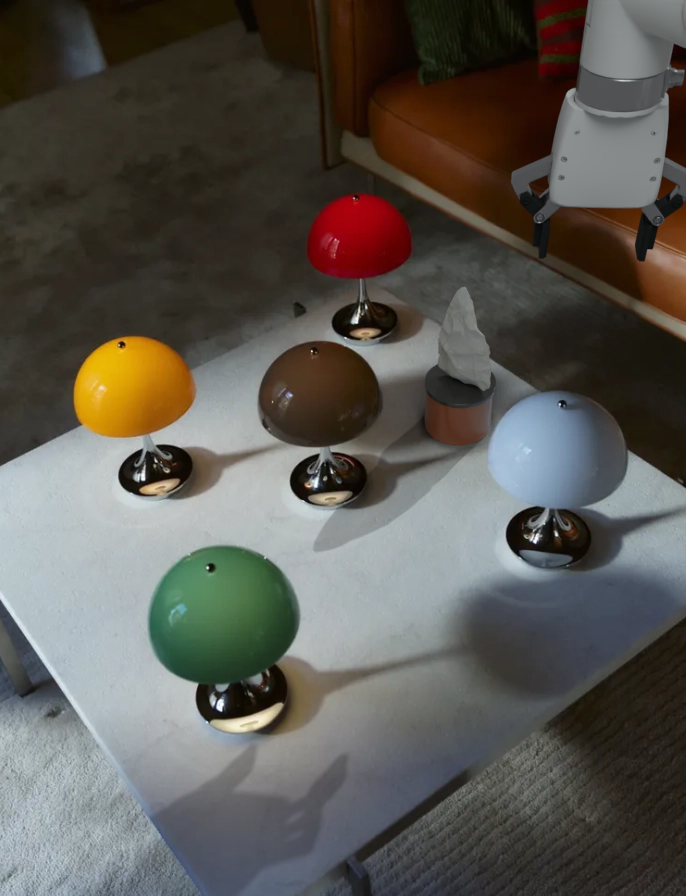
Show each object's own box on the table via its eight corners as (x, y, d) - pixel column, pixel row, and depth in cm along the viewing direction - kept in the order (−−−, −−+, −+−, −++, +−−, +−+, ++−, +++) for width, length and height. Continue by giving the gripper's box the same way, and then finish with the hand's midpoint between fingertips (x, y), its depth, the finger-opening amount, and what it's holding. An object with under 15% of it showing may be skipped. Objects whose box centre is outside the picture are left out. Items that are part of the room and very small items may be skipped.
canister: (492, 402, 136) (496, 360, 130) (491, 448, 129) (496, 406, 124) (425, 399, 137) (426, 357, 131) (420, 444, 130) (422, 402, 125)
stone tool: (430, 377, 128) (434, 283, 118) (443, 366, 130) (448, 272, 119) (483, 402, 124) (492, 307, 113) (496, 390, 126) (506, 295, 115)
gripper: (716, 65, 85) (674, 235, 97) (520, 65, 87) (503, 231, 100) (729, 102, 80) (683, 276, 92) (520, 101, 82) (503, 271, 95)
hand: (590, 252), depth 96 cm, fingers open, 9 cm apart
